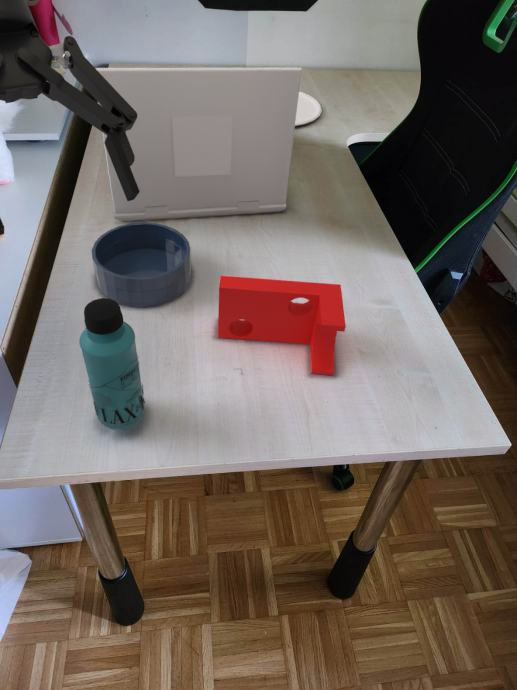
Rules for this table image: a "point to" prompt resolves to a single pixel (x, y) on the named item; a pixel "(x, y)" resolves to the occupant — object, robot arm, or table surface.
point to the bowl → (142, 264)
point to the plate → (307, 109)
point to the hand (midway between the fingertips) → (70, 213)
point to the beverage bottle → (112, 365)
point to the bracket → (283, 315)
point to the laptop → (206, 140)
